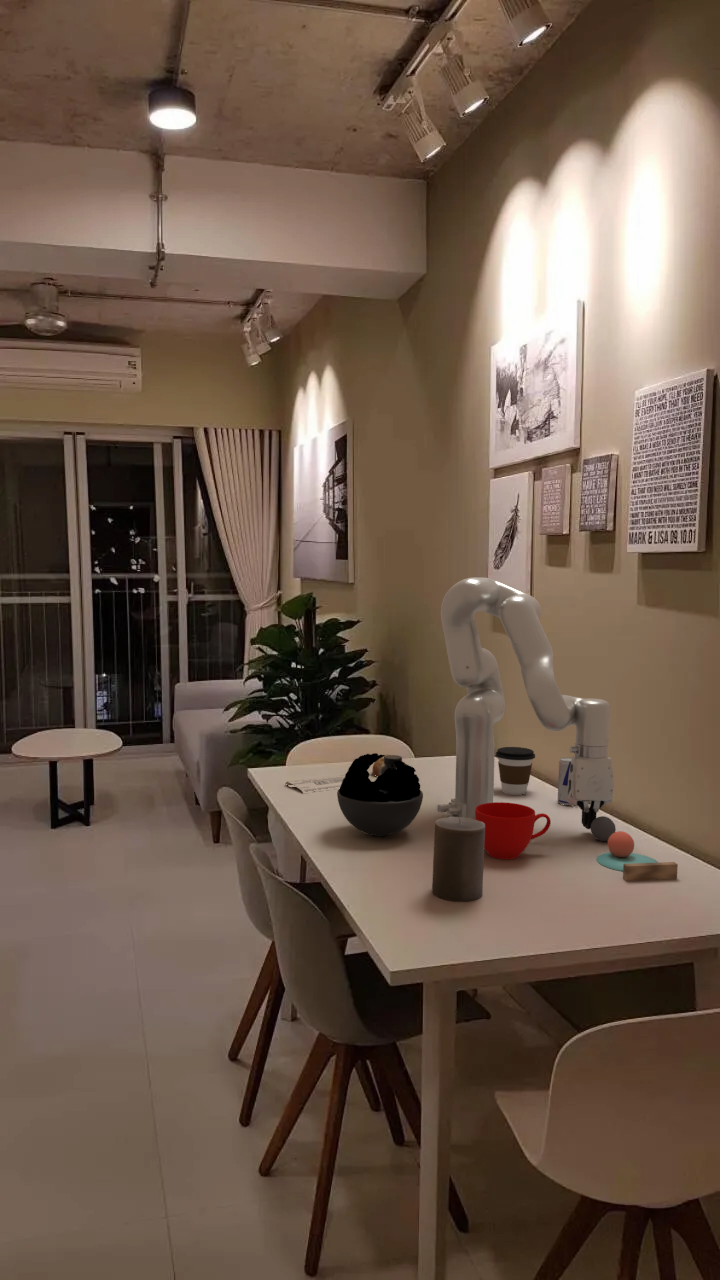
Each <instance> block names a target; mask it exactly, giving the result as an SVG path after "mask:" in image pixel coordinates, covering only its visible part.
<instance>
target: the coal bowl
mask: <svg viewBox="0 0 720 1280" xmlns="http://www.w3.org/2000/svg"><path fill="white" fill-rule="evenodd" d="M385 755H386V754H378V753H376V752H375V753H371V754H370V753H366V754H364V755H359V756H358V757H357V758H355V759H354V760H353V761H352V762H351V764H350V766H349V767H348V769H347V771H346V772H345V774H344V775H345V778H344V779H343V781H342V784H341V786H340V789H337V793H336V796H337V801H338V806H339V808H340V811H341V813H342V814H343V816H344V818H345V819H346V821H347V822H348V823H350V825H351V826H353V827H354V828H356V829H357V830H359V831H360V832H362V833H363V834H364V833H365V834H367V835H370V836H375V837H376V836H378V837H382V836H383V837H384V836H389V835H390V836H391V835H393V834H397V833H399V832H401V831H402V830H404V829H405V828H407V827H408V826H409V825H410V824H411V823H412V822H413V821H414V820H415V819H416V817H417V815H418V813H419V812H420V809H421V807H422V803H423V798H424V793H423V791H422V790H421V784H420V783H419V782H420V778H419V777H418V775H417V774H415V772H417V770H416V769H415V767H413V766H412V765H409V764H407V763H406V762H405V761H403V762H401V761H395V762H394V764H395V766H396V767H397V769H392V770H391V769H390V768H388V769H387V770H385V772H384V774H381V775H380V776H379V777H376V779H375V780H374V781H372V780H371V779H370V778H369V777H370V772H369V769H370V767H371V766H373V765H374V763H375V762H376V761H378V760H379V759H380V758H382V757H384V756H385Z"/></svg>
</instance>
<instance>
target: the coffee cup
mask: <svg viewBox="0 0 720 1280" xmlns="http://www.w3.org/2000/svg"><path fill="white" fill-rule="evenodd" d="M495 756H496V757H497V759H498V764H497V765H498V773H499V778H500V779H499V780H500V782H501V783H500V784H501V789H502V792H503V794H505V793H506V794H505V795H508V794H510V795H509V796H523V795H522V794H524V795H526V793H527V790H528V784H529V782H530V777H531V772H532V767H533V759H535V758H536V754H535V753H534V750H532V749H530V748H526V747H520V746H519V747H518V746H506V747H505V746H504V747H500V748H497V751H495Z"/></svg>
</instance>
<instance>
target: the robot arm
mask: <svg viewBox="0 0 720 1280" xmlns="http://www.w3.org/2000/svg"><path fill="white" fill-rule="evenodd" d="M477 612H478V613H479V612H484V613H486V614H488V615H492V616H494V617H495V618H498V619H499V620H500V622H501V624H502V627H503V629H504V631H505V634H506V636H507V638H508V640H509V642H510V644H511V647H512V649H513V651H514V654H515V656H516V659H517V661H518V663H519V667H520V672H521V676H522V680H523V683H524V684H523V685H524V687H525V692H526V694H527V697H528V700H529V702H530V704H531V706H532V708H533V711H534V713H535V715H536V718H537V719H538V721H539V723H540V724H541V726H543V727H544V729H547V730H549V731H551V732H552V731H553V732H561V731H563V730H564V729H566V728H567V727H571V726H575V742H574V745H573V746H570V747H569V752H570V753H572V754H573V753H574V755H572V757H571V758H572V760H571V764H570V769H569V776H568V789H567V790H568V795H569V796H568V799H567V802H568V803H570V804H574V805H575V806H577V807H578V808H579V809H580V810H581V824H582V826H583V827H584V828H585V829H586V830H591V824H592V822H593V820H594V819H596V818H597V813H599V810H600V809H601V808H602V807H603V806H604V805H607V804H611V803H612V802H613V798H614V797H615V775H614V767H613V766H614V765H613V761H612V757H609V741H610V740H609V739H610V737H609V733H610V712H611V711H610V709H611V707H610V704H609V702H608V701H607V700H604V699H601V698H592V697H591V698H589V697H588V698H583V697H577V696H572V695H569V694H567V695H566V694H561V693H562V692H561V690H560V688H559V686H558V683H557V680H556V677H555V673H554V672H555V671H554V657H555V656H554V650H553V647H552V645H551V643H550V641H549V639H548V638H549V637H548V635H547V634H546V632H545V629H544V628H543V625H542V623H541V621H540V619H541V618H542V617H541V615H542V608H541V605H540V603H539V601H538V600H537V599H536V598H535V597H533V596H532V595H530V594H527V593H525V592H522V591H520V590H518V589H515V588H513V587H511V586H509V585H507V584H504V583H502V582H499V581H498V580H495V579H493V578H490V577H468V578H464V579H462V580H459V581H458V582H456V583H455V584H454V585H452V586H451V587H450V588H449V589H448V590H447V591H446V593H445V595H444V597H443V599H442V602H441V607H440V618H441V619H440V620H441V624H442V631H443V635H444V640H445V646H446V647H445V648H446V652H447V657H448V663H449V669H450V675H451V677H452V679H453V681H454V683H455V684H456V685H458V686H459V687H462V688H465V689H466V693H467V694H465V695H464V696H463V697H462V698H460V699H459V701H458V702H457V704H456V705H455V706H456V707H455V710H454V726H455V728H454V729H455V737H456V739H455V740H456V741H455V743H456V747H455V748H456V749H455V750H456V751H455V788H454V789H455V791H454V793H455V794H454V797H455V798H450V802H448V803H447V804H446V803H442V804H438V805H437V809H436V810H437V812H438V813H445V812H446V813H447V814H448V817H462V818H469V819H474V820H475V809H476V807H477V806H479V805H481V804H485V803H494V789H495V788H494V785H495V783H494V782H495V756H496V750H495V747H496V745H495V733H494V725H495V724H497V723H498V722H500V720H501V719H503V717H504V715H505V711H506V699H505V694H504V693H505V692H504V689H503V684H502V678H501V673H500V668H499V663H498V662H497V659H496V656H495V655H494V654H493V653H492V652H491V651H490V650H488V649H487V648H484V647H482V643H481V639H480V632H479V629H478V625H477V623H476V621H475V614H476V613H477Z"/></svg>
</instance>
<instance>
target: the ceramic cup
mask: <svg viewBox="0 0 720 1280" xmlns="http://www.w3.org/2000/svg"><path fill="white" fill-rule="evenodd" d="M540 818H545V819H546V824H545V825H544V827H543V828H542V829H541V830H539V831H538V832H535V833H534V829H535V823H536V822H537V821H538V820H539V819H540ZM475 820H477V821H481V822H483V823H484V824H485V842H484V851H486V853H487V854H488V856H490V857H491V858H495V859H499V860H513V859H514V860H515V859H517V858H519V857H520V855H521V854H523V852H524V851H525V850H526V849H527V847H528V845H529V844H530V842H531V840H533V839H534V840H535V839H536V838H539V837H541V836H543V835H544V834H546V833H547V832H548V830H549V829H550V827H551V822H552V821H551V818H550V816H549V815H548V814H546V813H543V812H542V813H537V814H536V811H535V809H533V808H532V807H531V806H530V807H529V806H528V805H523V804H520V803H514V802H502V801H501V802H498V801H496V802H494V801H493V803H485V804H481V805H479V806H477V807H476V809H475Z"/></svg>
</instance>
